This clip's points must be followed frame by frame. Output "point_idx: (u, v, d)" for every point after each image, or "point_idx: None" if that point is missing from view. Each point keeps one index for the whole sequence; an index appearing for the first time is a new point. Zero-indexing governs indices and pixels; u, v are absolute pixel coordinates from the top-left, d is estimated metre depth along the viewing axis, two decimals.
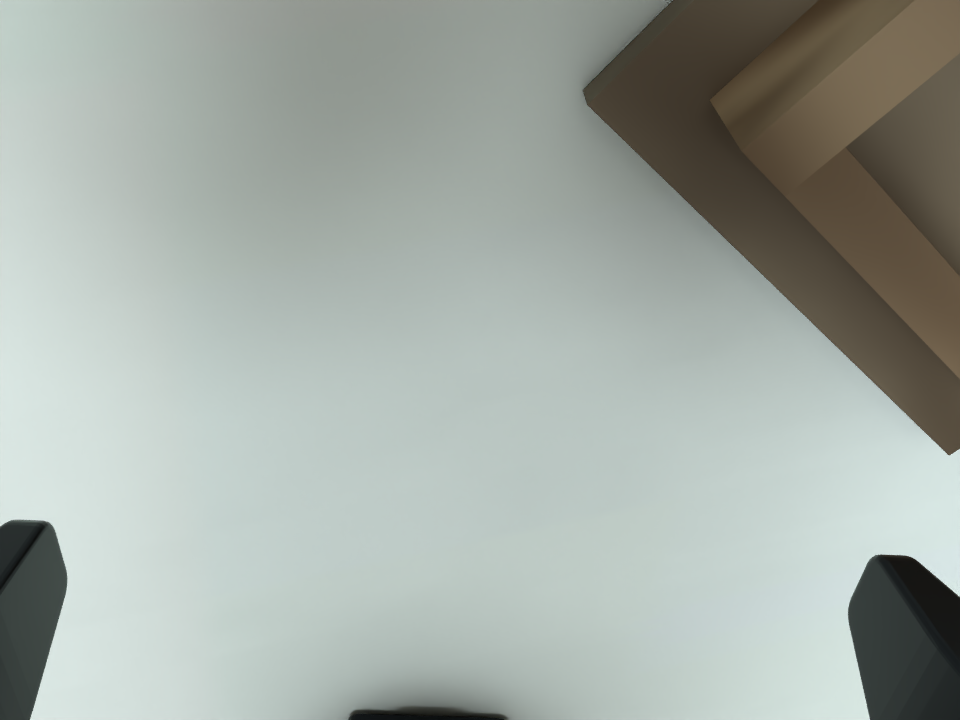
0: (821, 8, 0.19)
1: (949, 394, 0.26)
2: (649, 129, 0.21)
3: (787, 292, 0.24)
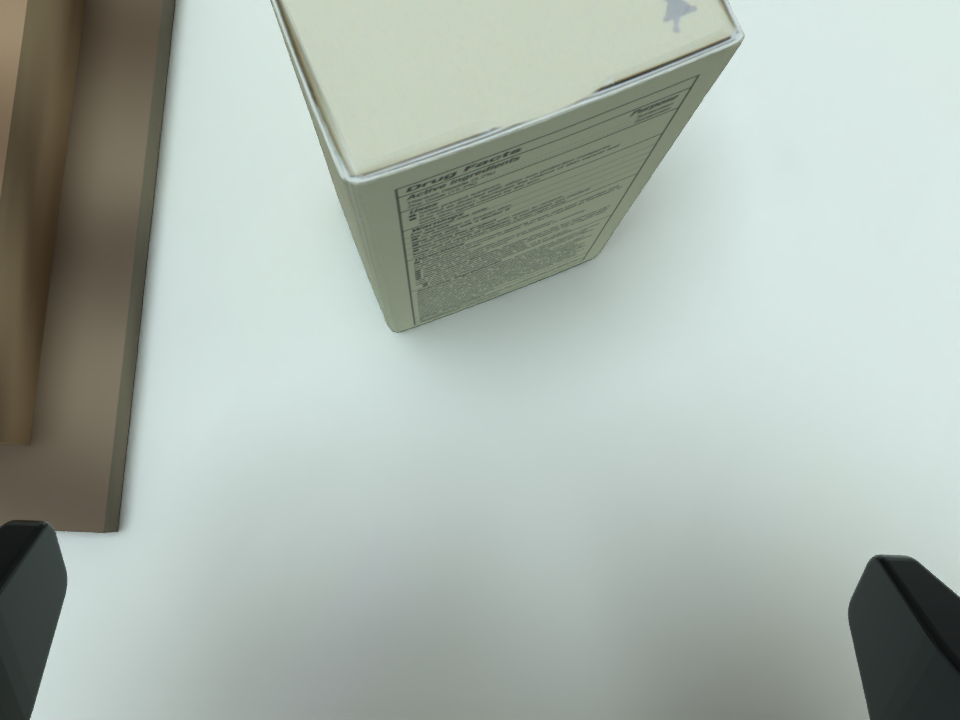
0: None
1: (22, 477, 0.22)
2: None
3: None
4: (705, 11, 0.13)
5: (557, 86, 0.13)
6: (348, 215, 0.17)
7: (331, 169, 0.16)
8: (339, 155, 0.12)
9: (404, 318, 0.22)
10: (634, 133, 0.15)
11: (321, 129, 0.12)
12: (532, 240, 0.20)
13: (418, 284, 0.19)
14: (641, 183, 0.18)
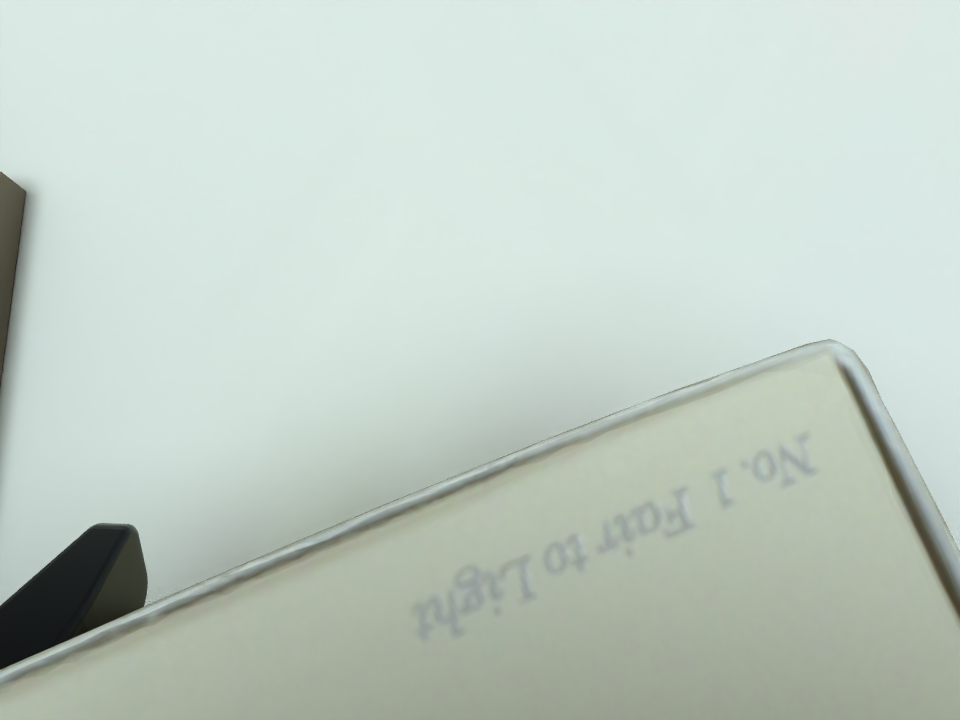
0: None
1: None
2: None
3: None
4: None
5: None
6: None
7: None
8: None
9: None
10: None
11: None
12: None
13: None
14: None
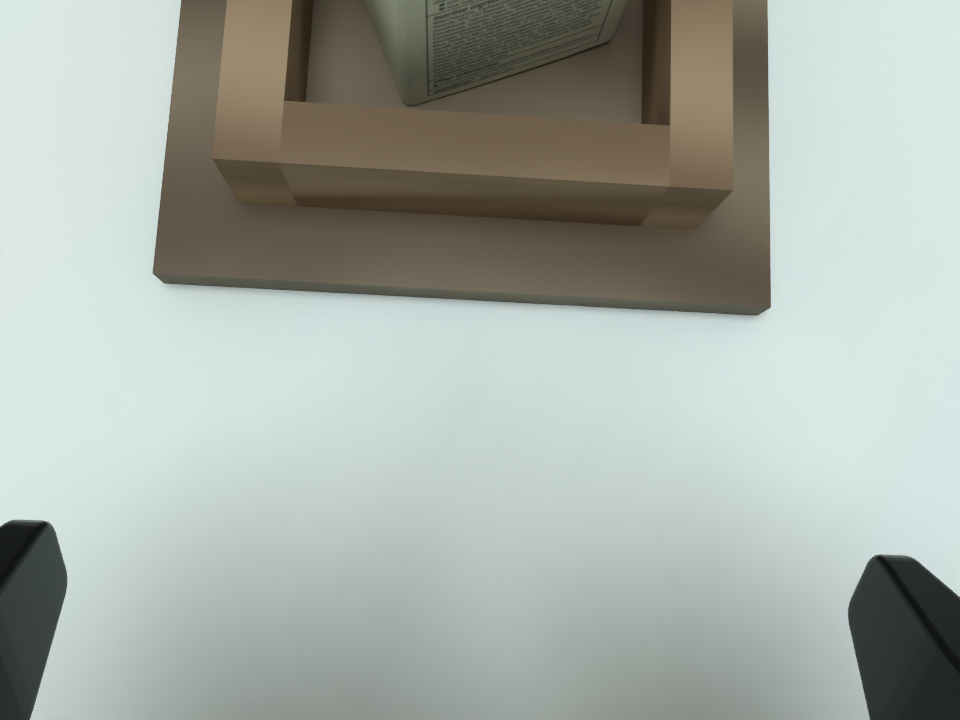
0: None
1: (692, 257, 0.24)
2: (215, 254, 0.23)
3: (453, 285, 0.23)
4: None
5: None
6: None
7: None
8: None
9: (418, 75, 0.22)
10: None
11: None
12: None
13: (435, 2, 0.19)
14: None
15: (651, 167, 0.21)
